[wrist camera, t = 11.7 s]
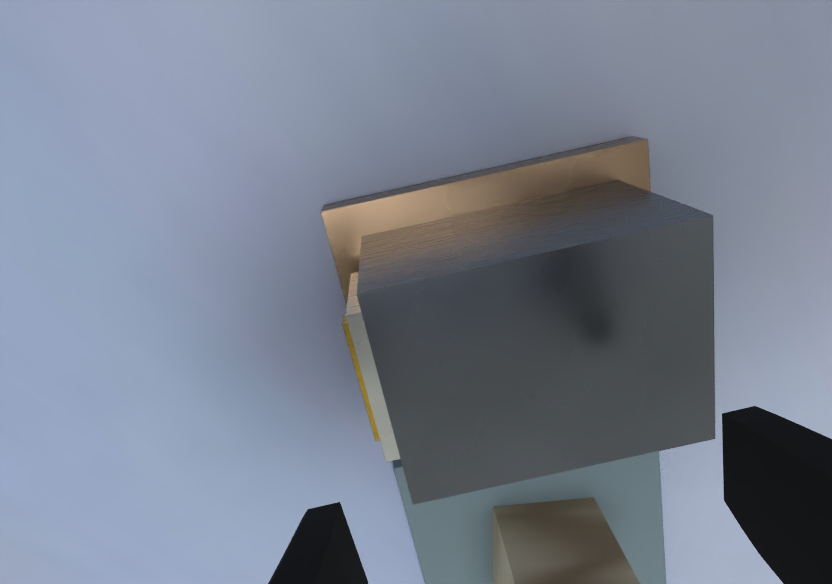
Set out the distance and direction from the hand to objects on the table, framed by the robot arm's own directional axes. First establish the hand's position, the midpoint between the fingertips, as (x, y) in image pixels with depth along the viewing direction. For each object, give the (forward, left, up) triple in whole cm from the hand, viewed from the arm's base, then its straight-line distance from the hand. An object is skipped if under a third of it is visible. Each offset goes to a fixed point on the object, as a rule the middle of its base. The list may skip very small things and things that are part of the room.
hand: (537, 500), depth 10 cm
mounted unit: (-1, 0, -9) cm, 9 cm away
